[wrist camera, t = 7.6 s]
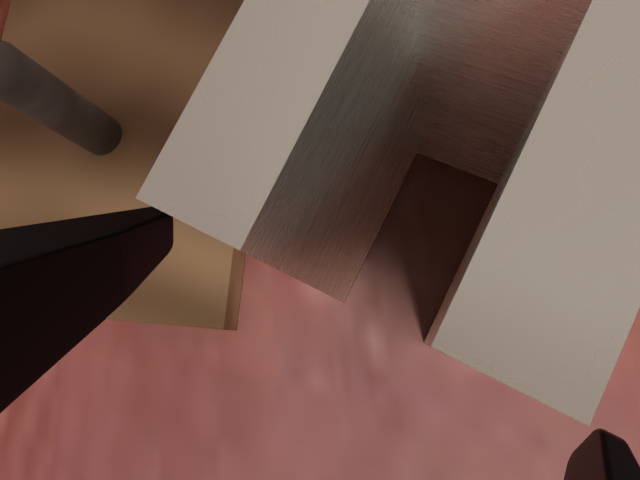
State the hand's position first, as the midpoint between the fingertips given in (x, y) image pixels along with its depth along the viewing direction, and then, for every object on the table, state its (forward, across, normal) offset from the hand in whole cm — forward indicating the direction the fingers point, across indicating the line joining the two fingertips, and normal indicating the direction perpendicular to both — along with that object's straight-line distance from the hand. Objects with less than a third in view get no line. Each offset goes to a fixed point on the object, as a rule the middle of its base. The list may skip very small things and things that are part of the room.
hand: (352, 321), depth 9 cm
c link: (+8, 0, +2) cm, 8 cm away
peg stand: (+6, +13, +4) cm, 15 cm away
